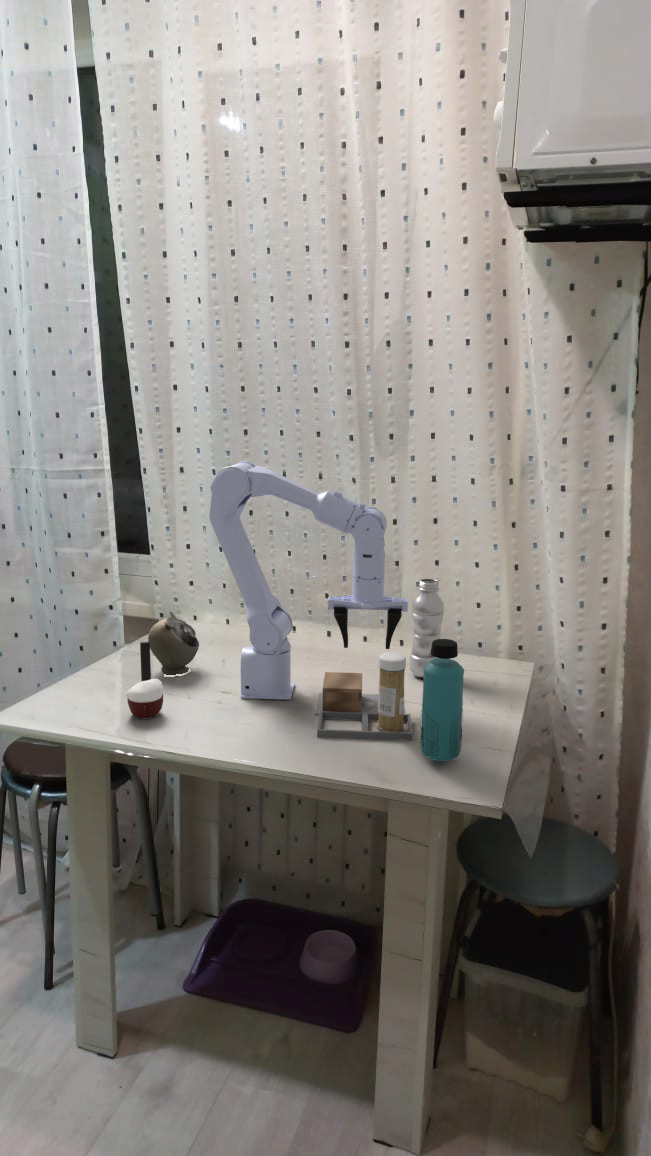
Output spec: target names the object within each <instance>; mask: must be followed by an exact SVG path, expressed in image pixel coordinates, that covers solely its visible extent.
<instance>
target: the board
mask: <svg viewBox="0 0 651 1156" xmlns="http://www.w3.org/2000/svg"><path fill="white" fill-rule="evenodd" d="M316 699H317V700H316V705H315V711H314V716H319V715H320V711H322V709H323V692H318V693H317V698H316ZM378 701H379V693H377V694H376V693H374V694H373V693H362V702H361V713H379V712H378ZM332 712H343V711H332ZM403 714H405V711H404V712H403Z"/></svg>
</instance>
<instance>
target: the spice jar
mask: <svg viewBox="0 0 651 1156" xmlns="http://www.w3.org/2000/svg"><path fill="white" fill-rule="evenodd" d="M378 668H379V682H378V694H379V701H378V712H379V719H378V723H377V729H378V731H385V732H403V731H404V721H403V712H404V713H405V710H404V709H405V708H404V706H405V670H406V668H407V657H406V656H405V655H404V654H402V653H399V652H393V651H392V652H389V651H388V652H385V653H384V652H383V653H382V654H380V655H379V658H378Z"/></svg>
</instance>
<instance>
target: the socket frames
mask: <svg viewBox="0 0 651 1156" xmlns="http://www.w3.org/2000/svg"><path fill="white" fill-rule="evenodd" d="M411 718H412V717H411V714H410V713H404V714H403V722H406V723H407V731H401V732H385V731H379V730H369V729H368V728H369V726H368V725H369V721H378V719H379V713H361V712H332V711H320V715H318V723H317V728H316V737H317V738H335V739H340V738H341V739H362V740H363V739H366V740H389V741H390V740H391V741H392V740H394V741H395V740H396V741H413V728H412V727H413V726H412V719H411ZM328 719H329V720H350V721H351V720H353V721H354V720H355V721H356V720H357V721H361V730H356V729H355V730H351V729H325V728H324V729H323V728H322V726H323V720H328Z"/></svg>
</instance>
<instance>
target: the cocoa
mask: <svg viewBox="0 0 651 1156" xmlns="http://www.w3.org/2000/svg"><path fill="white" fill-rule="evenodd" d="M139 650H140V653H139V654H140V676H141V678H140V679H141V680H140V682H138V683H136V684H134V686H132V687H131V688H130V689H128V690H127V691H126V693H125V696H126V698H127V699H126V700H127V704H128V708H129V711H130V712H131V715H132V716H133V717H136V718H138V719H141V718H148V719H151V718H150V717H152V718H154V717H156V716H157V715H159V713H160V712H161V711H162V709H163V708H162V707H163V704H164V694H163V691H164V688H163V682H162V681H161V680H159V679H158V678H152V672H151V671H152V670H151V667H152V666H151V649H150V642H149V641H148V640H147V641H146V640H145V641H141V642H140V643H139Z"/></svg>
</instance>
